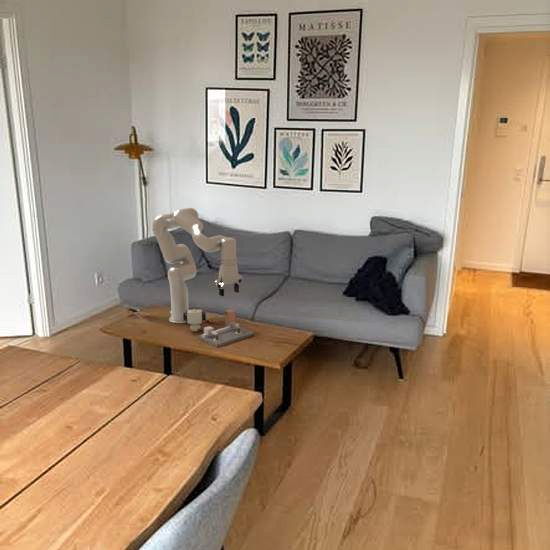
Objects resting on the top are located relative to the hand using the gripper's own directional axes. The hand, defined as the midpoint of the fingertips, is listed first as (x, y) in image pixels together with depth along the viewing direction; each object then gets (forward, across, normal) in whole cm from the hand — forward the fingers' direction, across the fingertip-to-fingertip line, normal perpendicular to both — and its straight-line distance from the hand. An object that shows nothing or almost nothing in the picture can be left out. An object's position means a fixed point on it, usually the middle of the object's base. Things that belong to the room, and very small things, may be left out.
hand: (229, 293), depth 283 cm
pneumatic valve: (+22, +12, -14) cm, 28 cm away
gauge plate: (+21, +6, +5) cm, 22 cm away
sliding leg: (+19, 0, +3) cm, 19 cm away
